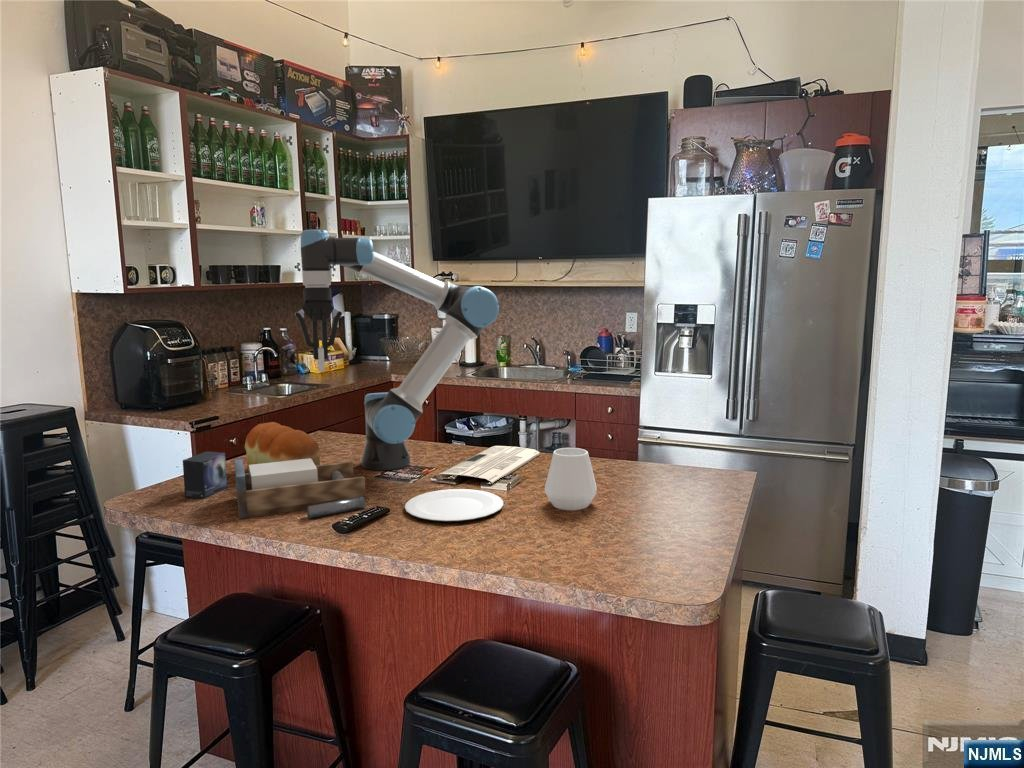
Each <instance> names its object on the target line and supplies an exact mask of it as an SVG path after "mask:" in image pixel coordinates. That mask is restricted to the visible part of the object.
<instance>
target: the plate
mask: <svg viewBox="0 0 1024 768" xmlns="http://www.w3.org/2000/svg"><path fill="white" fill-rule="evenodd" d="M503 507H504V500H503V499H502V497H500V496H498V495H496V494H494V493H493V492H488V491H485V490H479V489H478V490H477V489H472V488H471V489H468V488H453V489H452V488H450V489H441V490H434V491H429V492H425V493H422V494H421V493H420V494H418V495H416V496H414V497H412V498H410V499H409V500H408V501H407V502H405V505H404V509H405V511H406V513H407V514H409V515H411V516H412V517H415V518H418V519H420V520H424V521H431V522H440V523H441V522H442V523H443V522H444V523H452V522H453V523H454V522H455V523H457V522H467V521H474V520H477V519H483V518H486V517H489V516H492V515H494V514H496V513H497V512H499V511H500V510H501V509H502V508H503Z"/></svg>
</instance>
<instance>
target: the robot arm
mask: <svg viewBox="0 0 1024 768" xmlns="http://www.w3.org/2000/svg"><path fill="white" fill-rule="evenodd" d="M300 258H301V259H300V260H301V271H302V272H301V273H302V285H303V286H305V287H303V289H302V293H303V294H302V295H303V305H301V309H300V310H298V311H296V312H294V316H295V318H296V319H297V320H298V323H299V326H300V329H301V330H300V331H301V332H302V337H303V338H304V339H303V340H304V342H305V345H306V347H307V346H308V347H310V348H312V352H313V353H312V354H313V359H314V360H315V361H317V371H318V372H319V373H321V372H326V371H325V369H326V368H325V367H326V366H325V365H326V364H325V360H328V358H329V352H328V351H329V349H328V348H329V347H331V346H334V345H335V341H336V335H337V331H338V324H339V320H340V318H341V317H342V314H343V312H342V311H339V310H337V309H336V308H335V306H334V304H333V302H332V299H333V298H332V289H331V287H330V286H331V285H332V281H331V265H332V266H336V265H337V266H342V267H345V268H349V269H350V270H353V271H355V272H358V273H360V274H363V275H365V276H367V277H369V278H372V279H374V280H375V281H378V282H381V283H384V284H386V285H388V286H390V287H393V288H394V289H397V290H399V291H401V292H403V293H406V294H408V295H411V296H413V297H414V298H418V299H420V300H421V301H424V302H427V303H429V304H431V305H433V306H434V308H435V310H437V311H439V312H441V313H443V314H445V315H444V316H445V323H444V325H443V326H442V328H440V331H438V333H437V334H436V336H435V337H434V339H433V340H432V341H431V343H430V344H429V345H428V347H427V348H426V349H425V351H424V352H423V353H422V354H421V356H420V358H419V359H418V360H417V362H416V363H414V366H413V367H412V368H411V369H410V371H409V372H408V374H406V377H405V378H404V379H403V380H402V382H401V383H400V385H399V386H398V387H396V388H395V387H394V388H391V389H389V391H387V392H374V393H373V392H372V393H367V394H366V395H365V396H364V402H363V405H364V414H365V415H364V416H365V436H366V437H365V438H366V439H365V446H364V449H363V452H362V456H361V467H362V468H364V469H367V470H371V471H372V470H373V471H391V470H396V469H397V470H398V469H402V468H406V467H408V466H409V465H410V464H411V456H410V455H411V454H410V452H409V450H408V448H407V445H406V442H405V441H407V440H408V439H409V438H410V437H411V436H412V435H413V433H414V431H415V428H416V422H417V421H418V419H419V418H420V417H421V415H422V414H423V413H424V412H423V411H424V410H423V404H424V402H425V401H426V399H427V398H428V397H429V396H430V394H431V393H432V392H433V391H434V389H435V387H436V386H437V385H438V383H439V382H440V380H441V379H442V378H443V377H444V376H445V373H446V372H447V371H448V369H449V368H450V366H452V364H453V363H454V361H455V360H456V359H457V357H458V356H459V355H460V353H461V352H462V350H464V348H465V347H466V345H467V344H468V343H469V341H470V340H474V339H477V338H478V337H479V335H480V334H481V333H482V332H483V330H484V329H485V328H486V327H488V326H490V325H492V324H493V323H494V322H496V319H497V318H498V315H499V311H500V305H499V301H498V297H497V296H496V294H495V293H494V292H493V291H491V290H490V289H488V288H486V287H483V286H479V285H476V286H467V285H466V286H465V285H461V284H460V285H459V284H457V283H454V282H451V281H448V280H447V281H444V282H443V281H440V280H438V279H436V278H434V277H431V276H429V275H427V274H426V273H425V274H424V273H423V272H420V271H419V270H415V269H414V268H411V267H410V266H407V265H405V264H402V263H400V262H398V261H395V260H393V259H392V258H389V257H387V256H385V255H382V254H381V253H378V252H376V251H374V244H373V241H372V239H371V238H368V237H331V236H330V235H329V232H328V230H326V229H305V230H302V231H301V233H300ZM304 314H305V315H306V316H307V317H308V319H309V320H310V323H311V337H310V334H309V331H308V328H307V326H306V322H305V319H304V318H305V315H304ZM330 315H332V317H333V318H332V322H331V328H330V332H329V337H328V329H327V328H328V327H327V322H328V321H327V319H329V317H330ZM319 320H320V331H321V332H320V333H321V334H320V335H321V347H319V339H318V338H319V336H318V334H319V333H318V321H319ZM311 339H312V340H311Z"/></svg>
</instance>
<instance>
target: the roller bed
mask: <svg viewBox="0 0 1024 768" xmlns="http://www.w3.org/2000/svg"><path fill="white" fill-rule="evenodd" d="M233 461H234V473H235V474H234V475H235V489H236V500H237V509H238V518H239V519H247V518H253V517H260V516H261V517H262V516H267V515H268V516H269V515H276V514H283V513H289V512H298V511H307V506H312V505H318V504H323V503H328V502H334V501H339V500H344V499H350V498H355V497H360V496H363V497H364V499H365V503H366V502H367V498H366V478H365V476H357V477H356V476H354V464H353V461H345V462H335V463H329V464H320V465H317V466H316V468H317V474H318V482H313V483H305V484H296V485H288V486H280V487H271V488H263V489H255V490H252V489H251V484H250V474H249V472H246V473H245V467H244V461H243V459H241V458H240V459H234V460H233Z"/></svg>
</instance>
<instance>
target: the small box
mask: <svg viewBox="0 0 1024 768" xmlns="http://www.w3.org/2000/svg"><path fill="white" fill-rule="evenodd" d="M226 464H227V463H226V452H219V451H207V450H206V451H204V452H201V453H199V454H196V455H194V456H190V457H188V458H185V459H183V460H182V469H183V470H182V471H183V483H184V498H191V499H192V498H194V499H206V498H208V497H210V496H212V495H215V494H216V493H219V492H221V491H223V490H225V489H228V484H227V483H228V481H227V480H228V479H227V465H226Z"/></svg>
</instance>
